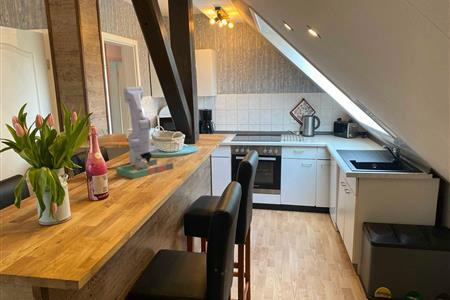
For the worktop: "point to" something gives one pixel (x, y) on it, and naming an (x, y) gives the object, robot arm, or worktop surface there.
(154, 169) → the trap track
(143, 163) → the game die
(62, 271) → the worktop surface
